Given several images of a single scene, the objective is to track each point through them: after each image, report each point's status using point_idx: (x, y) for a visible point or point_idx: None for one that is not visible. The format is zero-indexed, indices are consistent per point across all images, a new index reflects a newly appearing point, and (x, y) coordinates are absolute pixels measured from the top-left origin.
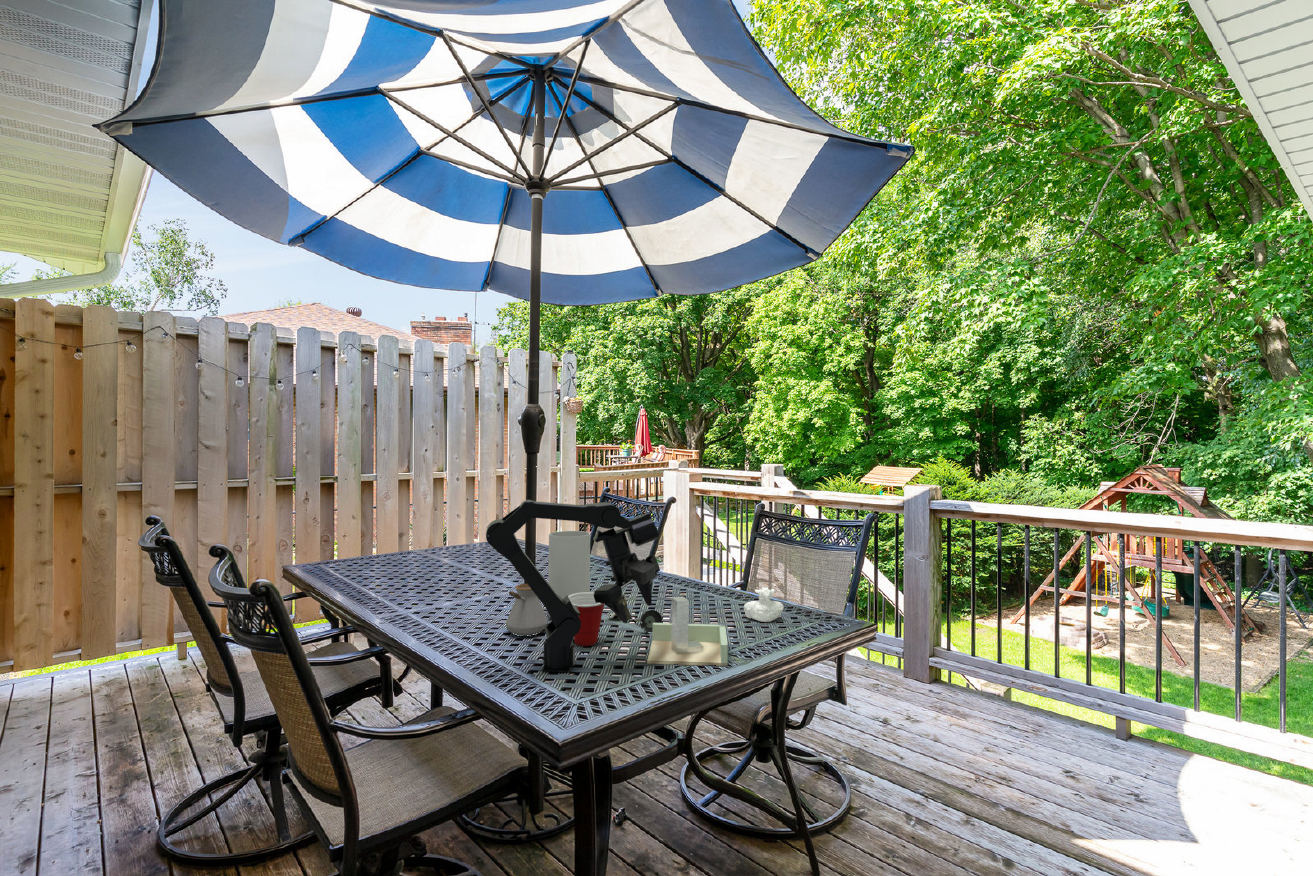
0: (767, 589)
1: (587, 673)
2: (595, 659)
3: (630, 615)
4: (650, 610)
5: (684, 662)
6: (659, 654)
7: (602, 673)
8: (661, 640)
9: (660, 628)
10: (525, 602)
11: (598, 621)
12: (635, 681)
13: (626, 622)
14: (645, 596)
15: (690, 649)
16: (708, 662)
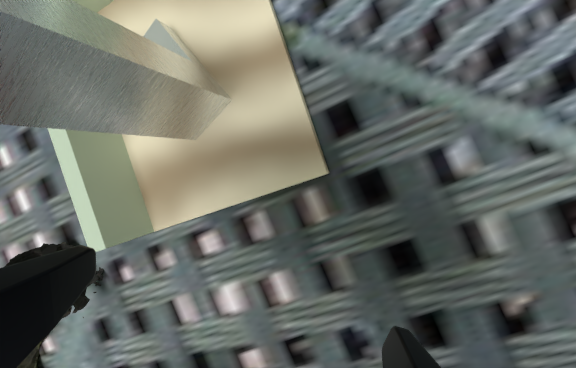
0: None
1: (521, 347)
2: (366, 360)
3: (21, 363)
4: None
5: (283, 41)
6: (256, 157)
7: (496, 292)
8: (143, 203)
9: (108, 215)
10: None
11: None
12: (531, 137)
13: (410, 332)
14: (9, 338)
15: (192, 57)
16: None
